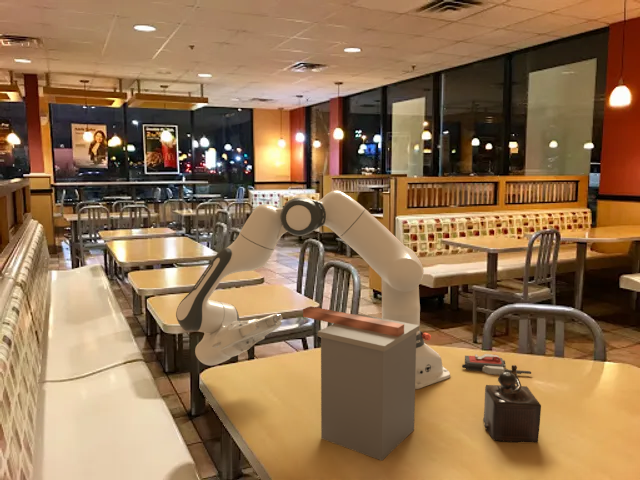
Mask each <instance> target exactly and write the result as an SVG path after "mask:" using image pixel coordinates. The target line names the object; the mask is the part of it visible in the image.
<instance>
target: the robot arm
mask: <svg viewBox="0 0 640 480" xmlns="http://www.w3.org/2000/svg"><path fill="white" fill-rule="evenodd" d="M323 226H324V227H326V228H328V229H330V230H331V231H332V232H333V233H334V234H336V236H338V237H339V239H341V240H342V241H343V242H344V243H345V244H346V245H348V246H349V247H350V248H351V249H352V250H353V251H354V252H356V253H357V254H358V255H359V256H360V258H362V259H363V260H364V262H366V264H368V266H369V267H370V268H371V269H372V270H374V272H375V273H376V274H377V275H378V276H379V277H380V278H381V318H383V319H388V320H393V321H399V322H404V323H409V324H414V325H419V326H420V322H421V321H420V320H421V319H420V318H421V317H420V316H421V315H420V312H421V304H420V289H419V288H420V287H419V285H421V283H422V280H423V277H424V266H423V264H422V262H421V260H420V259H419V257H418V256H417V254H416V253H415V251H414V250H413V249H412V248H410V247H408V246H406V245H405V244H403V242H401V241H400V240H399V238H397V237H396V236H395V235H394V234H393V233H392V232H391V231H390V230H389V229H388V228H387V227H386V226H385V225H384V224H383V223H381V221H379V220H378V219H377V218H376V217H375V216H374V215H373V214H372V213H371V212H369V210H367V209H366V208H365V207H364V206H363V205H362V204H360V203H359V202H358V201H356V200H355V199H354V198H353V197H351V196H350V195H348V194H346V193H345V192H343V191H341V190H339V189H338V190H337V189H336V190H332V191H329V192H328V193H326V194H325V195H324V196H323V197H322V198H320V199H318V200H315V199H313V198H311V197H308V196H306V195H305V196H304V195H299V196H295V197H292V198H290V199H289V200H288V201H286V203H284V205H282V206H281V207H276V206H274V205H271V204H265V203H264V204H259V205H257V206H256V208H254V209H253V211H252V212H251V214H250V215H249V217H248V218H247V219H246V221H245V223H244V224H243V226H242V228H241V230H240V232H239V234H238V236H237V237H236V239H235V240H234V241H233V242H232V243H230V245H228V246H227V247H225V248H222V249H220V251H218V252H217V254H216V255H215V256H214V257H213V258H212V260H211V261H210V263H208V266H207V267H206V268H205V270H204V271H203V272H202V274H201V275H200V277H199V279H198V280H197V282H196V283H195V284H194V286H193V287H192V289H191V290H190V291H189V292H188V293H187V295H185V297H184V298H183V299H181V301H180V302H179V304H178V306H177V309H176V312H175V316H176V320H177V322H178V325H179V326H180V327H181V328H182V330H184V331H187V332H200V333H204V335H203V337H202V339H200V341H199V342H198V343H197V345H196V346H195V349H194V350H195V351H194V352H195V353H194V354H195V356H196V359H198V361H199V362H200V363H202V364H203V365H206V366H216V365H219V364H221V363H222V364H223V363H224V362H226V361H228V360H230V359H231V358H233V357H236V356H238V355H241V354H242V353H245V352H246V351H248V350H249V349H251V348H252V347H253V346H254V345H255V344H257V343H259V342H261V341H263V340H265V336H267V335H269V334H270V333H272V332H274V331H275V330H276V329H278V328H280V327H281V326H282V323H283V322H282V321H283V316H282V314H281V313H273V314H270V315H266V316H263V317H261V318H252V319H248V320H240V315H239V312H238V310H237V308H236V307H235V306H234V305H233V304H231V303H227V302H223V301H218V300H213V299H210V297H211V296H212V294H214V291H215V290H216V289H217V288H218V286H219V284H220V283H221V281H222V280H223V279H224V278H225V277H227V276H229V275H232V274H235V273H241V272H250V271H255V270H258V269H260V268H262V267H264V266H265V265H266V264H267V263H268V262H269V260H270V259H271V257H272V255H273V253H274V251H275V248H276V246H277V244H278V243H279V240H280V239H281V237H282V236H283V235H285V234H286V233H289V234H290V235H293V236H297V237H304V236H307V235H309V234H311V233H313V232H314V231H316V230H318V229H319V228H322V227H323ZM431 339H432V335H431V334H430V333H428V332H423V331H421V330H419V331H418V332H416V371H415V390H420V389H422V388H425V387H426V386H430V385H433V384H435V383H439V382H441V381H444V380H447V379H450V378H451V373H450V371H449V370H448V369H447V368H446V367H444V365H443V360H442V356H440V353H438V352H437V351H436V350H434V348H432V347H430V346H429V344H426V343H425V341H427V342H429V341H430V340H431ZM424 340H425V341H424Z"/></svg>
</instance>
